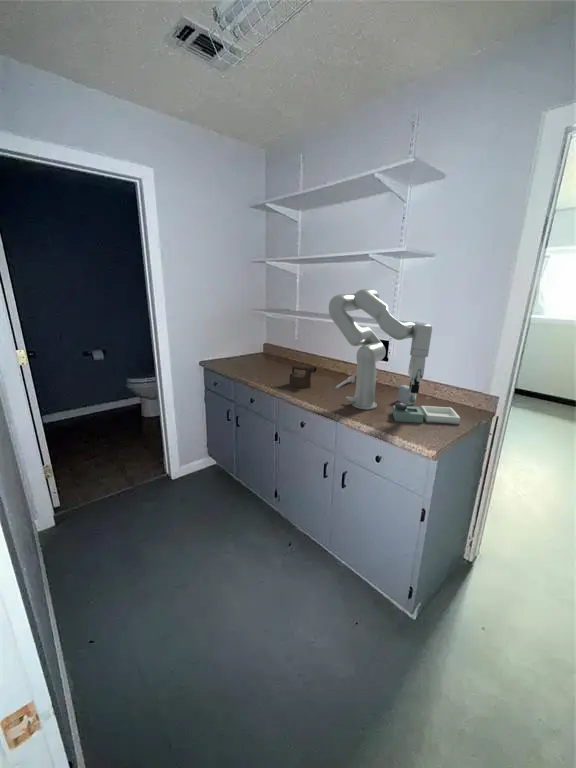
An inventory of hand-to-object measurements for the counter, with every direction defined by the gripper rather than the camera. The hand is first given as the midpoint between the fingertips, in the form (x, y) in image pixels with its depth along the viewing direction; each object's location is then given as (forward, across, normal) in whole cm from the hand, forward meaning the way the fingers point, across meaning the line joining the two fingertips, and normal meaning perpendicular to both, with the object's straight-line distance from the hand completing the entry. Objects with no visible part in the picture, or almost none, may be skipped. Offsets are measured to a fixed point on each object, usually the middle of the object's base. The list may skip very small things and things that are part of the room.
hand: (413, 391), depth 151 cm
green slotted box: (+13, 0, -1) cm, 13 cm away
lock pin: (+5, 0, 0) cm, 5 cm away
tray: (+13, -3, +14) cm, 19 cm away
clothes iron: (+15, -41, -56) cm, 71 cm away
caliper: (+15, -48, -30) cm, 58 cm away
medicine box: (+14, -22, +2) cm, 26 cm away
